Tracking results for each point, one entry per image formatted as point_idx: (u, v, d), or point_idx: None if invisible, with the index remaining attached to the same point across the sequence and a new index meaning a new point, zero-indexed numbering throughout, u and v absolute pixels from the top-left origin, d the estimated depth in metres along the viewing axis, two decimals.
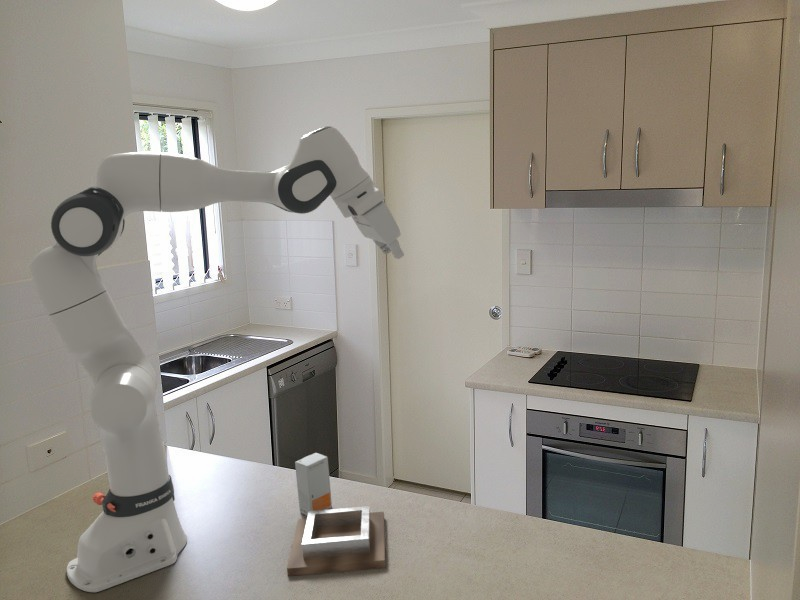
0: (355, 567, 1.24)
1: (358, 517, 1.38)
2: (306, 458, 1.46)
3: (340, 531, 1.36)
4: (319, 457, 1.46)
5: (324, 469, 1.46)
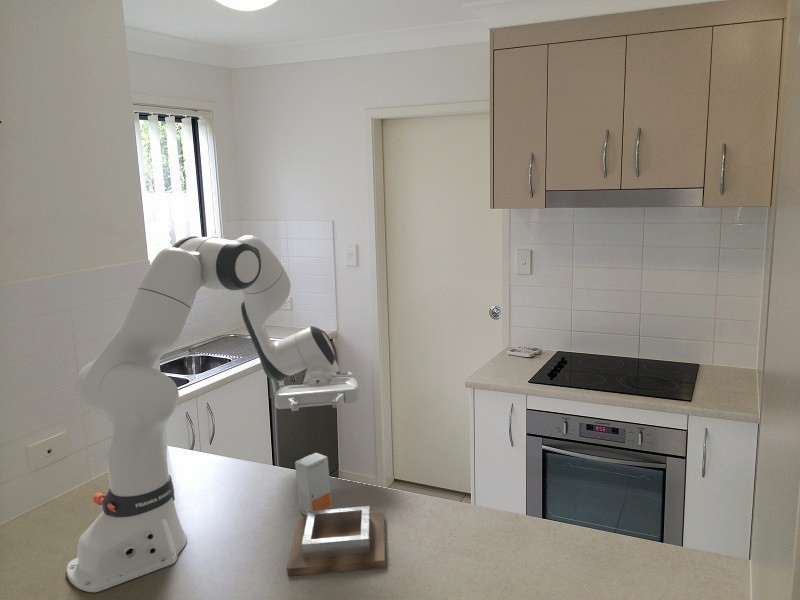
0: (355, 567, 1.24)
1: (358, 517, 1.38)
2: (306, 458, 1.46)
3: (340, 531, 1.36)
4: (319, 457, 1.46)
5: (324, 469, 1.46)
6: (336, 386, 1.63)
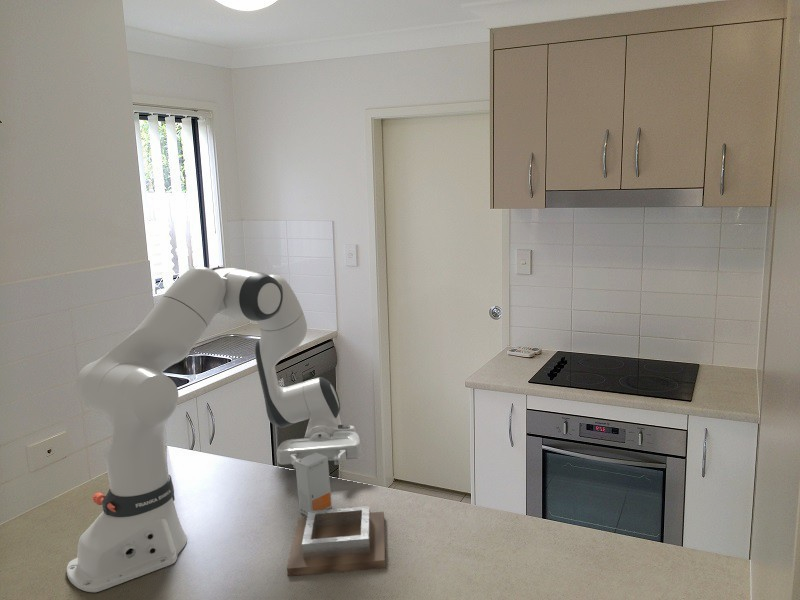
0: (355, 567, 1.24)
1: (358, 517, 1.38)
2: (306, 458, 1.46)
3: (340, 531, 1.36)
4: (319, 457, 1.46)
5: (324, 469, 1.46)
6: (338, 441, 1.64)
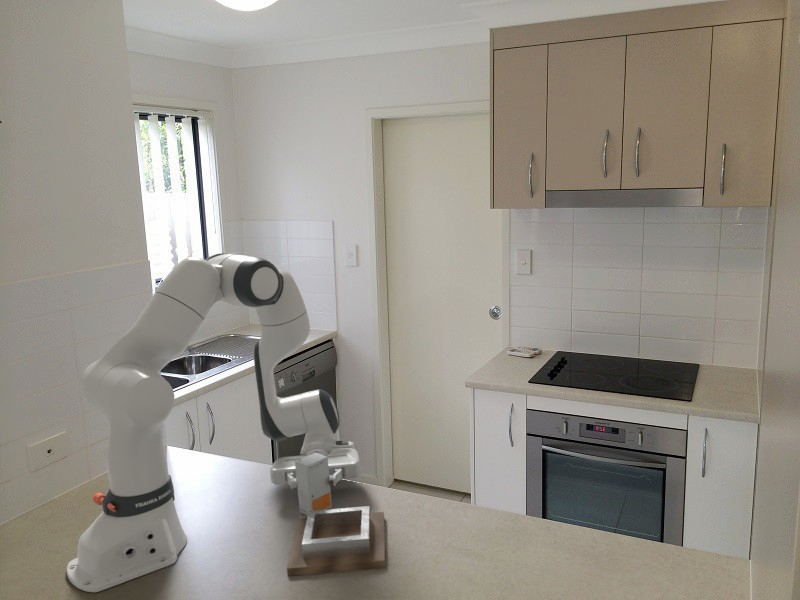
0: (355, 567, 1.24)
1: (358, 517, 1.38)
2: (306, 458, 1.46)
3: (340, 531, 1.36)
4: (319, 457, 1.46)
5: (324, 469, 1.46)
6: (336, 459, 1.53)
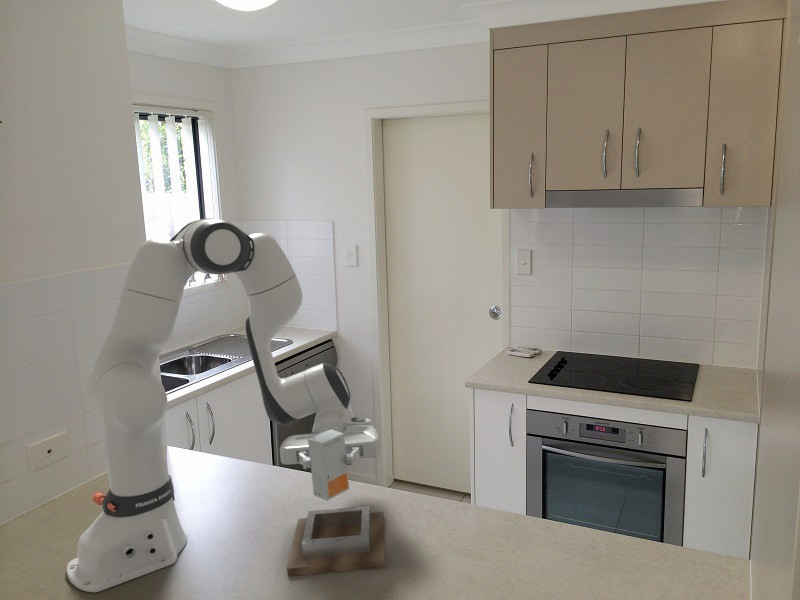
0: (355, 567, 1.24)
1: (358, 517, 1.38)
2: (320, 435, 1.32)
3: (340, 531, 1.36)
4: (334, 434, 1.32)
5: (340, 447, 1.31)
6: (352, 437, 1.39)
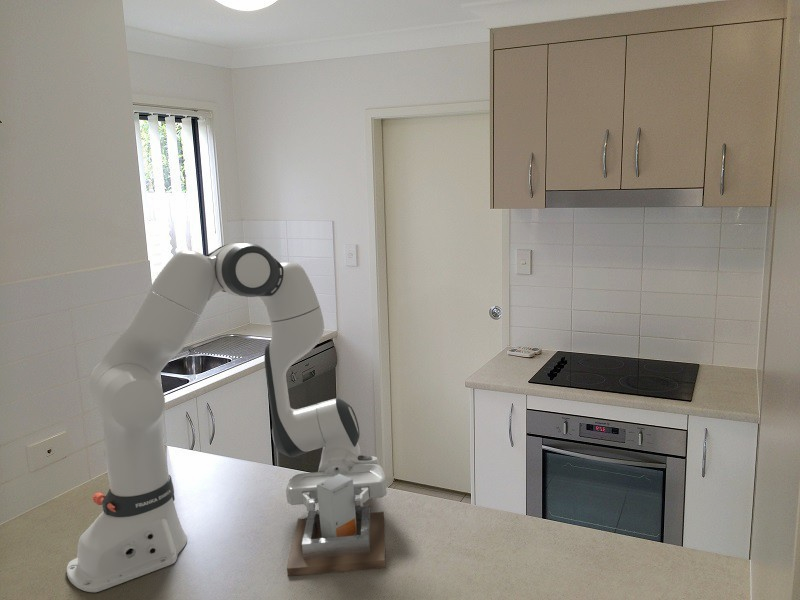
0: (355, 567, 1.24)
1: (358, 517, 1.38)
2: (329, 481, 1.31)
3: None
4: (343, 479, 1.31)
5: (349, 493, 1.31)
6: (359, 477, 1.38)
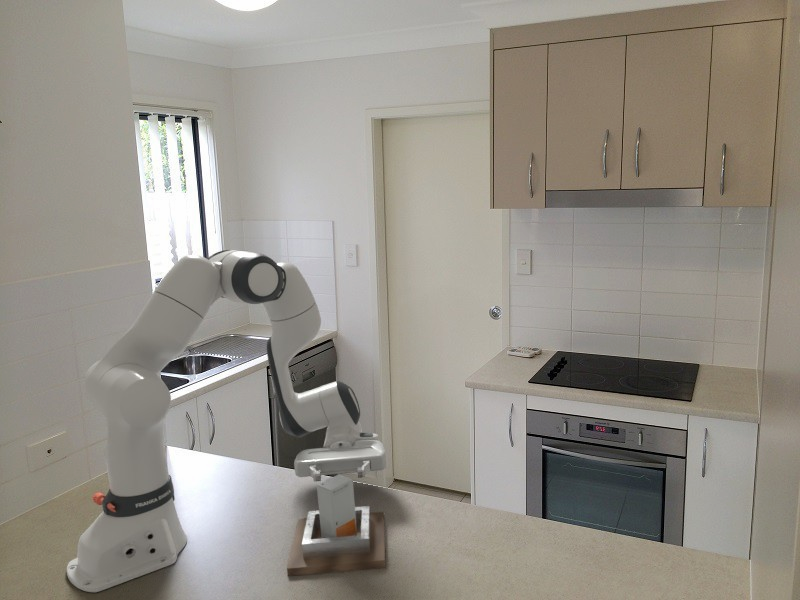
0: (355, 567, 1.24)
1: (358, 517, 1.38)
2: (329, 481, 1.31)
3: None
4: (343, 479, 1.31)
5: (349, 493, 1.31)
6: (361, 451, 1.50)
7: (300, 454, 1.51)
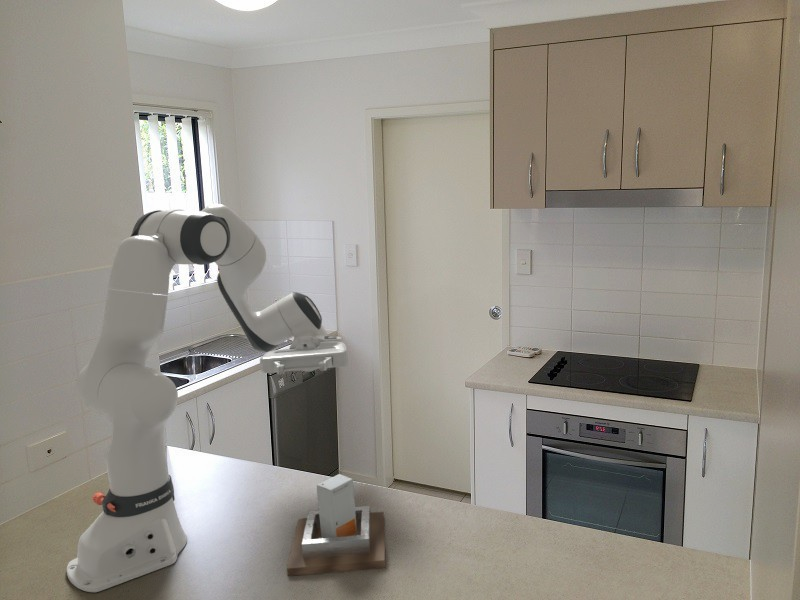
0: (355, 567, 1.24)
1: (358, 517, 1.38)
2: (329, 481, 1.31)
3: None
4: (343, 479, 1.31)
5: (349, 493, 1.31)
6: (324, 350, 1.57)
7: (266, 353, 1.58)
